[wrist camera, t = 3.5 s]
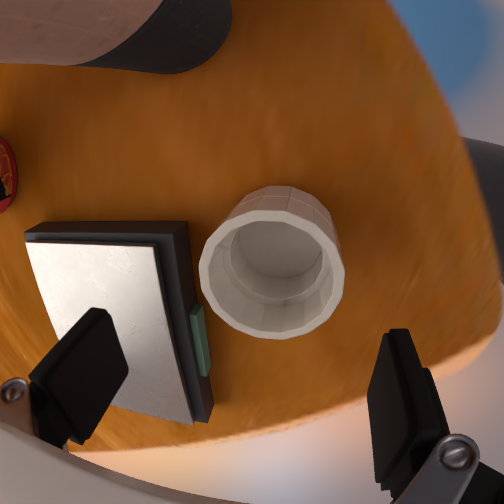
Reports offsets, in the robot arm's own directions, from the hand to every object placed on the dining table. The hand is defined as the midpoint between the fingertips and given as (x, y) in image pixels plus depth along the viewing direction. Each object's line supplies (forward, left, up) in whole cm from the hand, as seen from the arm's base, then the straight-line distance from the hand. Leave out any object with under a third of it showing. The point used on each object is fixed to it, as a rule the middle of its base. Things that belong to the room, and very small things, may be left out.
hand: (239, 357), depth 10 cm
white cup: (0, 0, -11) cm, 11 cm away
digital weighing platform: (+13, +8, -8) cm, 17 cm away
